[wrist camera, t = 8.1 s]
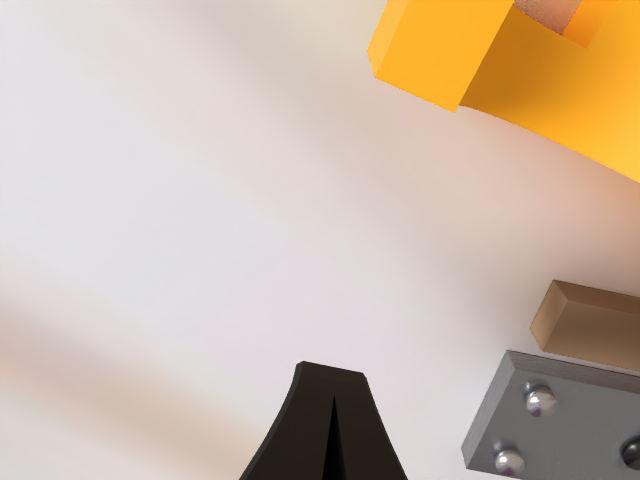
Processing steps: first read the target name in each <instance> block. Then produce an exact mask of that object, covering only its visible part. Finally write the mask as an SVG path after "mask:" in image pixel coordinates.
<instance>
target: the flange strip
mask: <svg viewBox="0 0 640 480" xmlns="http://www.w3.org/2000/svg"><path fill="white" fill-rule="evenodd" d="M461 449H462V453H463V457H464V461H465V465H466V469H470V470H475V471H480V472H486V473H491V474H496V475H501V476H506V477H511V478H516V479H522V480H640V377H635V376H630V375H625V374H621V373H616V372H611V371H606V370H601V369H596V368H591V367H586V366H581V365H577V364H572V363H567V362H562V361H557V360H552V359H547V358H542V357H537V356H532V355H528V354H523V353H518V352H513V351H508V350H507V351H506V353H505V355H504V357H503V359H502V361H501V364H500V366H499V368H498V370H497V372H496V374H495V376H494V379H493V381H492V383H491V385H490V387H489V389H488V391H487V393H486V396H485V398H484V400H483V402H482V404H481V406H480V408H479V411H478V413H477V415H476V417H475V419H474V421H473V423H472V425H471V428H470V430H469V432H468V434H467V436H466V438H465V440H464V443H463V445H462V447H461Z"/></svg>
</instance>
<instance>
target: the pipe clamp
mask: <svg viewBox="0 0 640 480" xmlns="http://www.w3.org/2000/svg"><path fill="white" fill-rule="evenodd" d="M513 2H514V0H388V2H387V5H386V7H385V9H384V12H383V14H382V16H381V19H380V21H379V23H378V26H377V28H376V30H375V33H374V35H373V37H372V40H371V42H370V44H369V46H368V49H367V52H368V56H369V59H370V63H371V66H372V70H373V73H374V76H375V78H377V79H379V80H382V81H384V82H386V83H388V84H391V85H393V86H395V87H397V88H399V89H402V90H404V91H406V92H408V93H411V94H413V95H415V96H417V97H420V98H422V99H424V100H426V101H429V102H431V103H433V104H435V105H437V106H440V107H442V108H444V109H446V110H449V111H451V112H453V113H454V112H455V111H456V109H457V107H458V105H460V106H465V107H469V108H473V109H476V110H479V111H482V112H485V113H488V114H491V115H493V116H496V117H499V118H501V119H504V120H506V121H509V122H511V123H514V124H516V125H518V126H521V127H523V128H525V129H528V130H530V131H532V132H535V133H537V134H539V135H541V136H544V137H546V138H548V139H550V140H553V141H555V142H557V143H559V144H561V145H563V146H566V147H568V148H570V149H572V150H574V151H576V152H578V153H580V154H582V155H584V156H587V157H589V158H591V159H593V160H595V161H597V162H599V163H601V164H603V165H605V166H607V167H609V168H611V169H613V170H615V171H617V172H619V173H621V174H623V175H625V176H627V177H629V178H631V179H633V180H635V181H637V182H639V183H640V0H582V2H581V3H580V5H579V7H578V8H577V10H576V12H575V14H574V15H573V17H572V19H571V20H570V22H569V24H568V25H567V27H566V29H565V30H564V32H563V34H562V36H561V35H559V34H558V33H556V32H554V31H552V30H550V29H549V28H547V27H545V26H544V25H542V24H540V23H538V22H537V21H535V20H534V19H532V18H531V17H529V16H528V15H526V14H525V13H523V12H522V11H521V10H519V9H518V8H517V7H516V6H515V5H514V4H513Z"/></svg>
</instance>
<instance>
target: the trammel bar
mask: <svg viewBox="0 0 640 480" xmlns="http://www.w3.org/2000/svg"><path fill="white" fill-rule="evenodd" d="M530 330H531V332H532V333H533V335H534V337H535V339H536V341H537V343H538V344H539V346H540V348H541V350H542V351H544V352H549V353H554V354H559V355H563V356H568V357H573V358H578V359H583V360H588V361H593V362H598V363H603V364H607V365H612V366H617V367H622V368H627V369H632V370H637V371H640V298H637V297H632V296H627V295H623V294H618V293H613V292H608V291H604V290H599V289H594V288H589V287H585V286H580V285H575V284H570V283H566V282H561V281H556V280H553V281H552V283H551V285H550V287H549V289H548V291H547V293H546V296H545V298H544V300H543V302H542V304H541V306H540V308H539V310H538V312H537V314H536V316H535V318H534V320H533V322H532V325H531V327H530Z"/></svg>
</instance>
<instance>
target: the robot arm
mask: <svg viewBox="0 0 640 480" xmlns="http://www.w3.org/2000/svg"><path fill="white" fill-rule="evenodd" d="M239 480H408V479H407V477H406V475H405V473H404V470H403V468H402V466H401V464H400V462H399V459H398V457H397V455H396V453H395V451H394V449H393V446H392V444H391V442H390V440H389V437H388V435H387V432H386V430H385V428H384V425H383V423H382V420H381V418H380V415H379V413H378V410H377V407H376V405H375V402H374V399H373V396H372V394H371V391H370V388H369V385H368V382H367V378H366V377H365V376H364V374H363V373H361V372H356V371H351V370H346V369H341V368H336V367H331V366H326V365H321V364H316V363H311V362H306V361H302V362H300V363H298V364H296V368H295V373H294V377H293V381H292V384H291V387H290V389H289V392H288V394H287V396H286V399H285V401H284V403H283V405H282V407H281V409H280V411H279V413H278V415H277V417H276V419H275V421H274V423H273V424H272V426H271V428H270V430H269V432H268V434H267V436H266V437H265V439H264V441H263V442H262V444H261V446H260V447H259V449H258V450H257V452H256V454H255V455H254V457H253V458H252V460H251V461H250V463H249V465H248V466H247V468H246V469H245V471H244V472H243V474H242V476H241V477H240V479H239Z"/></svg>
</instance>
